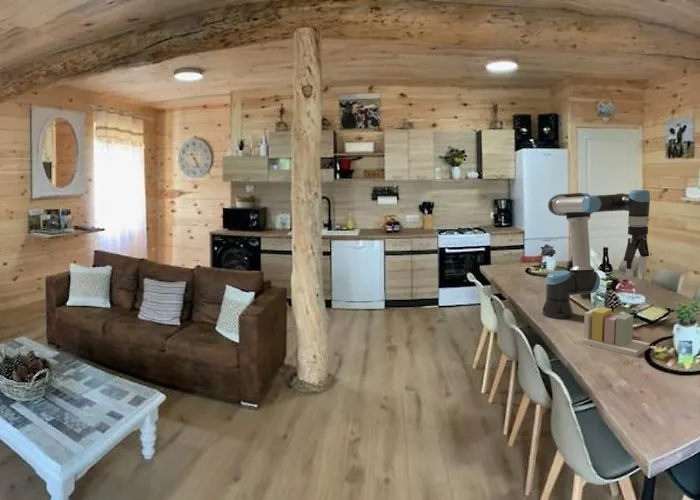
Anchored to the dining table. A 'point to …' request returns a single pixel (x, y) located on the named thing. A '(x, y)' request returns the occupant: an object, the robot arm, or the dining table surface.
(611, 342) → the block stand tray
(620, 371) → the dining table surface
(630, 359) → the dining table surface
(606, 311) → the book
